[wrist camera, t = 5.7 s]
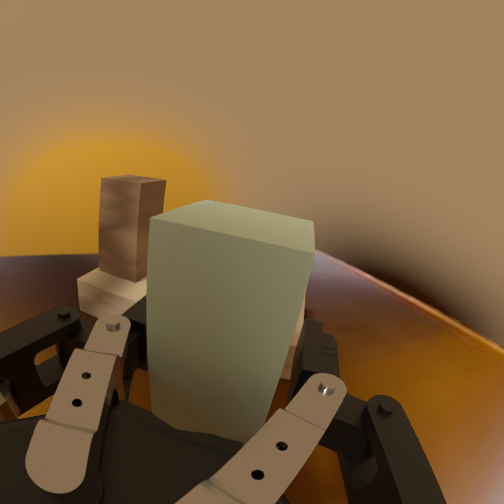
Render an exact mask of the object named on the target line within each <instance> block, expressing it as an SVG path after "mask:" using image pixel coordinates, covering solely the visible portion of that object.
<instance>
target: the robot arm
mask: <svg viewBox="0 0 504 504" xmlns="http://www.w3.org/2000/svg"><path fill="white" fill-rule="evenodd" d="M146 296H147V294H146V295H145V296H144V297H142V299H140V300H139V301H137V302H136V303H135V304H134V305H133V306H131V307H130V308H129V309H128V310H126V311H125V312H124V313H123V314H122V315H118V314H108V315H104V316H102V317H100V318H99V319H98V320H97V321H96V322H90V321H85V320H81V318H80V312H79V310H78V309H77V308H75V307H73V306H67V305H64V306H58V307H55V308H53V309H51V310H49V311H46V312H44V313H42V314H40V315H37V316H35V317H33V318H31V319H28V320H26V321H24V322H22V323H20V324H17V325H15V326H13V327H11V328H9V329H7V330H4V331H2V332H0V504H291V503H290V502H289V500H288V499H287V497H286V496H285V494H284V492H285V490H286V489H287V488H288V486H289V485H290V484H291V482H292V481H293V479H294V478H295V477H296V475H297V474H298V472H299V471H300V470H301V468H302V467H303V465H304V464H305V462H306V461H307V459H308V458H309V456H310V455H311V453H312V452H313V450H314V449H315V447H316V445H317V444H319V445H321V446H324V447H326V448H329V449H331V450H334V451H336V452H337V455H338V459H339V463H340V467H341V472H342V476H343V480H344V485H345V489H346V493H347V498H348V502H349V504H447V503H446V501H445V499H444V496H443V494H442V491H441V489H440V487H439V484H438V482H437V480H436V477H435V475H434V473H433V471H432V468H431V466H430V464H429V462H428V459H427V457H426V455H425V453H424V451H423V449H422V446H421V444H420V442H419V440H418V438H417V436H416V434H415V432H414V430H413V428H412V426H411V424H410V422H409V420H408V418H407V416H406V414H405V412H404V410H403V408H402V406H401V405H400V403H399V402H398V401H396V400H395V399H393V398H391V397H389V396H385V395H376V396H373V397H372V398H370V400H369V401H368V402H366V401H363V400H361V399H358V398H355V397H353V396H351V395H350V394H348V393H347V387H346V385H345V383H344V382H343V381H342V380H341V379H340V377H339V365H338V358H337V357H338V353H337V343H336V341H335V339H334V338H333V336H332V335H331V334H327V333H322V321H319V320H315V319H310V318H305V320H304V323H303V326H302V329H301V333H300V336H299V339H298V342H297V345H296V349H295V353H294V357H293V363H292V370H291V377H290V384H289V391H288V397H287V404H286V408H285V409H283V408H279V409H278V410H277V411H276V412H275V413H274V415H273V416H272V417H271V418H270V419H269V420H268V421H267V422H266V423H265V425H264V426H263V427H262V428H261V429H260V430H259V431H258V432H257V433H256V434H255V435H254V436H253V437H252V438H251V439H250V440H249V441H248V442H247V443H246V445H245V446H244V447H243V445H244V443H243V442H239V441H235V440H231V439H228V438H224V437H221V436H217V435H214V434H209V433H200V432H192V431H185V430H179V429H175V428H173V427H172V426H170V425H169V424H167V423H166V422H164V421H163V420H161V419H160V418H158V417H157V416H155V415H154V414H152V413H151V412H150V411H148V410H145V409H143V408H141V407H138V406H136V405H134V404H132V403H131V397H132V391H133V385H134V379H135V373H134V371H135V370H136V369H137V368H140V369H142V370H145V371H148V355H147V318H146ZM54 344H55V346H56V350H57V355H55V356H53V357H51V358H49V359H48V360H46V361H44V362H42V363H40V364H39V365H37V366H35V364H34V358H35V356H36V355H37V353H39V352H40V351H42V350H44V349H46V348H48V347H50V346H52V345H54ZM53 394H55V395H54V397H53V400H52V402H51V405H50V407H49V410H48V413H47V414H45V415H40V416H34V417H29V418H23V419H18V417H19V416H20V415H22V414H23V413H25V412H26V411H28V410H30V409H31V408H33V407H34V406H36V405H37V404H39V403H41V402H42V401H44V400H45V399H47V398H48V397H50V396H52V395H53Z"/></svg>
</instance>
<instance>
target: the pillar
mask: <svg viewBox="0 0 504 504" xmlns="http://www.w3.org/2000/svg"><path fill="white" fill-rule="evenodd" d="M314 243H315V241H314V223H313V221H309V220H304V219H300V218H295V217H290V216H286V215H281V214H277V213H272V212H267V211H262V210H258V209H252V208H247V207H243V206H238V205H233V204H227V203H222V202H216V201H212V200H206V199H205V200H203V201H199V202H196V203H193V204H190V205H187V206H183V207H180V208H177V209H174V210H171V211H168V212H165V213H162V214H159V215H156V216H153V217H150V226H149V240H148V259H147V296H146V318H147V355H148V373H149V387H150V399H151V410H152V414H154V415H155V416H157V417H158V418H160V419H161V420H163V421H164V422H166V423H167V424H169V425H170V426H172V427H173V428H175V429H179V430H185V431H192V432H200V433H209V434H214V435H217V436H221V437H224V438H228V439H231V440H235V441H239V442H243V443H244V445H243V447H244V446H245V445H246V443H247V442H248V441H249V440H250V439H251V438H252V437H253V436H254V435H255V434H256V433H257V432H258V431H259V430H260V429H261V428H262V427H263V426H264V423H265V420H266V417H267V414H268V411H269V409H270V406H271V403H272V400H273V397H274V394H275V391H276V388H277V385H278V382H279V379H280V376H281V373H282V369H283V366H284V363H285V360H286V357H287V353H288V350H289V347H290V344H291V340H292V337H293V333H294V330H295V327H296V323H297V320H298V316H299V313H300V309H301V306H302V302H303V298H304V295H305V291H306V287H307V283H308V280H309V276H310V272H311V268H312V264H313V260H314V256H315V244H314Z"/></svg>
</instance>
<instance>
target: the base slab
mask: <svg viewBox="0 0 504 504" xmlns="http://www.w3.org/2000/svg"><path fill="white" fill-rule="evenodd" d="M165 186H166V180H162V179H155V178H148V177H141V176H133V175H123V176H114V177H104V178H101V190H100V191H101V192H100V208H99V267H98V268H97V269H95V270H93V271H91V272H89V273H87V274H85V275H83V276H82V277H80V278H78V279H77V285H78V296H79V305H80V310H81V311H83V312H85V313H87V314H89V315H91V316H94V317H96V318H98V319H99V318H100V317H102V316H104V315H108V314H118V315H122V314H123V313H124V312H125V311H126V310H128V309H129V308H130V307H131V306H133V305H134V304H135V303H136V302H137V301H139V300H140V299H142V297H144V296H145V295H146V294H147V259H148V240H149V226H150V217H153V216H156V215H159V214H162V213H163V204H164V195H165ZM304 307H305V295H304V298H303V302H302V306H301V309H300V313H299V316H298V320H297V323H296V327H295V330H294V333H293V337H292V340H291V344H290V347H289V350H288V353H287V357H286V360H285V363H284V366H283V369H282V373H281V376H280V378H282V379H287V380H290V377H291V370H292V363H293V357H294V353H295V349H296V345H297V342H298V339H299V336H300V333H301V329H302V326H303V320H304Z"/></svg>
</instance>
